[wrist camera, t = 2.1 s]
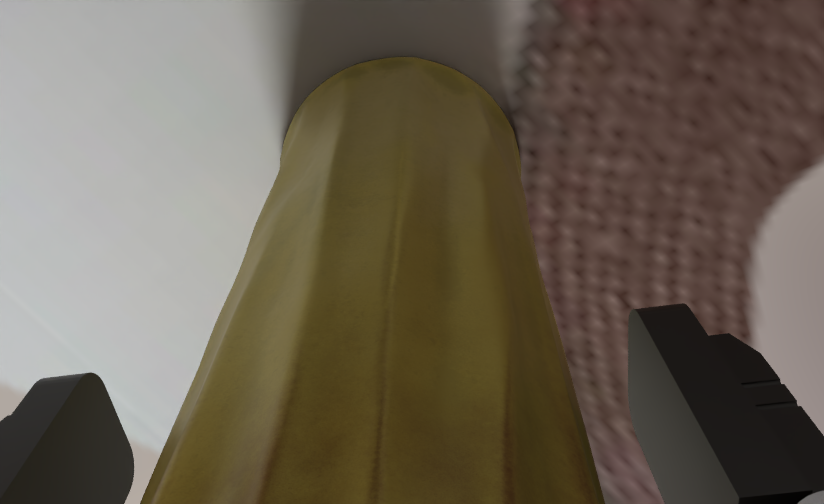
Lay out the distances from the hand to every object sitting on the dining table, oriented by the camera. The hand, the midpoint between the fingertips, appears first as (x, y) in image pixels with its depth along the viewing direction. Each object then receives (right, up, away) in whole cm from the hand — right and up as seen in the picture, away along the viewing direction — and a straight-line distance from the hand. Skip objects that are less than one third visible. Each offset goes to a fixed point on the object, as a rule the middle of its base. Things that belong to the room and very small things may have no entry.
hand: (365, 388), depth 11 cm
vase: (0, +4, +8) cm, 9 cm away
